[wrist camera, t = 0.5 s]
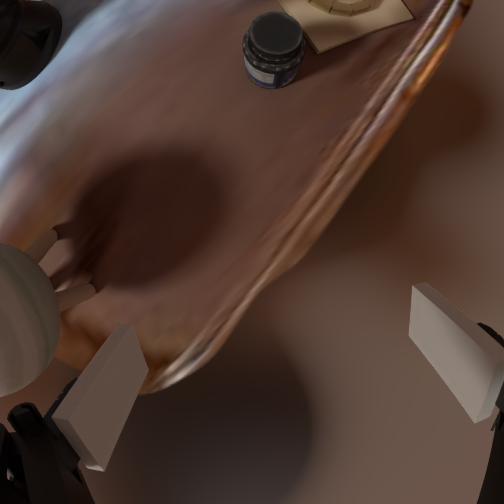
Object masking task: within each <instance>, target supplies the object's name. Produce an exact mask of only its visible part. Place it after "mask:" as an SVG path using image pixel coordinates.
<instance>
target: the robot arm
mask: <svg viewBox="0 0 504 504" xmlns="http://www.w3.org/2000/svg"><path fill="white" fill-rule="evenodd" d="M61 28H62V19H61V15H60V13H59V11H58V10H57V9H56V8H55V7H53V6H52V5H50V4H48V3H46V2H42V1H31V0H0V88H1V89H6V90H15V89H18V88H21V87H23V86H25V85H26V84H28V83H29V82H30V81H32V80H33V79H34V78H35V77H36V76H37V75H38V74H39V73H40V72H41V70H42V69H43V68H44V67H45V65H46V64H47V62H48V61H49V59H50V58H51V56H52V54H53V52H54V50H55V48H56V46H57V44H58V41H59V38H60V34H61ZM409 337H410V338H411V339H412V340H413V341H414V343H415V344H416V345H417V346H418V348H419V349H420V350H421V352H422V353H423V354H424V356H425V357H426V358H427V359H428V361H429V362H430V363H431V365H433V367H434V368H435V370H436V371H437V372H438V374H439V375H440V376H441V377H442V379H443V380H444V381H445V383H446V384H447V386H448V387H449V388H450V390H451V391H452V392H453V394H454V395H455V397H456V398H457V399H458V401H459V402H460V403H461V405H462V406H463V407H464V409H465V410H466V412H467V413H468V415H469V416H470V417H471V419H472V420H473V422H474V423H477V422H479V421H481V420H483V419H485V418H487V417H489V416H490V415H491V413H492V411H493V408H494V406H495V404H496V406H497V407H498V408H499V409H500V411H499V413H498V415H497V418H496V420H495V422H494V424H493V426H492V428H491V431H493V430H494V428H495V433H494V438H493V444H492V448H491V453H490V458H489V462H488V466H487V470H486V474H485V478H484V481H483V485H482V488H481V492H480V495H479V498H478V501H477V504H504V340H503V338H502V337H501V336H500V335H498V334H497V332H495V331H494V330H493V329H492V328H491V327H489V326H487V325H484V324H482V323H477V324H476V323H475V322H474V321H473V320H471V319H470V318H469V317H468V316H467V315H466V314H464V313H463V312H462V311H461V310H460V309H458V308H457V307H456V306H455V305H453V304H452V303H451V302H450V301H449V300H447V299H446V298H445V297H444V296H442V295H441V294H440V293H438V292H437V291H436V290H435V289H434V288H432V287H431V286H430V285H428V284H427V283H426V282H425V283H421V284H416V285H413V286H412V302H411V315H410V327H409ZM148 371H149V370H148V367H147V364H146V362H145V359H144V356H143V354H142V351H141V348H140V345H139V342H138V339H137V337H136V334H135V331H134V328H133V325H132V323H131V324H118V325H117V327H116V328H115V329H114V331H113V332H112V333H111V335H110V336H109V337H108V339H107V340H106V341H105V343H104V344H103V345H102V347H101V348H100V349H99V351H98V352H97V353H96V355H95V356H94V357H93V359H92V360H91V361H90V363H89V364H88V365H87V367H86V368H85V370H84V371H83V372H82V374H81V375H80V377H79V378H75V379H74V380H72V381H71V382H70V383H69V384H67V385H66V387H65V388H64V390H63V391H62V394H60V395H59V396H58V398H57V400H56V401H55V402H54V403H53V405H52V406H51V408H50V409H49V411H48V412H47V414H46V415H45V416H44V418H43V417H42V416H41V414H40V412H39V411H38V409H37V408H36V406H35V405H34V404H33V403H28V402H25V403H21V404H19V405H17V406H15V407H14V408H13V409H12V410H11V411H10V412H9V414H8V417H7V420H8V421H9V422H10V424H11V425H12V427H13V428H14V430H15V431H16V432H12V433H9V432H8V431H7V429H6V428H5V426H4V425H3V424H1V423H0V504H95V502H94V500H93V498H92V496H91V493H90V491H89V489H88V487H87V484H86V482H85V479H84V477H83V474H82V472H81V470H80V469H79V467H78V466H77V464H78V462H79V460H80V459H81V460H82V462H83V463H84V464H85V465H86V467H87V468H89V469H94V470H99V471H105V468H106V466H107V464H108V461H109V459H110V456H111V454H112V452H113V449H114V447H115V445H116V442H117V440H118V438H119V435H120V433H121V431H122V429H123V426H124V424H125V421H126V419H127V417H128V415H129V413H130V410H131V408H132V406H133V404H134V401H135V399H136V397H137V395H138V393H139V390H140V388H141V386H142V384H143V382H144V380H145V377H146V375H147V373H148ZM495 426H496V427H495ZM7 472H8V473H9V474H10V480H8V479H7Z"/></svg>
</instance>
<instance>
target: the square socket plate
mask: <svg viewBox="0 0 504 504" xmlns="http://www.w3.org/2000/svg"><path fill="white" fill-rule="evenodd" d="M277 1H278V2H279V4H280V5H281V6H282V7H283V9H284V10H285V11H286V12H287V14H288V15H290V16H292V17H293V18H294V19H296V20H297V21H298V22H299V24H300V26H301V28H302V31H303V35H304V36H305V38H306V39H307V40H308V42H309V43H310V45H311V46H312V47H313V49H314V50H315V52H316V53H317V54H320V53H322V52H324V51H327V50H329V49H332V48H334V47H336V46H339V45H341V44H344V43H347V42H349V41H352V40H354V39H357V38H360V37H363V36H365V35H368V34H371V33H374V32H377V31H380V30H383V29H386V28H389V27H392V26H395V25H398V24H402V23H405V22H408V21H411V20H412V19H413V16H412V15H411V13H410V12H409V11H408V9H407V8H406V7H405V5H404V4H403V2H402V1H401V0H277Z"/></svg>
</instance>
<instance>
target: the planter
mask: <svg viewBox="0 0 504 504" xmlns="http://www.w3.org/2000/svg"><path fill="white" fill-rule="evenodd" d="M56 241H57V233H56V231H55V230H53V229H49V230H48V231H46V232H45V233H44V234H43V235H42V236H41V237H40V238H39V239H38V240H36V241H35V242H34V243H33V244H32V245H31V246H30V247H29V248H28V249H27V250H26V251H25V252H23V251H22V250H20V249H18V248H16V247H14V246H12V245H9V244H5V243H0V397H2V396H5V395H8V394H11V393H14V392H16V391H18V390H20V389H22V388H23V387H25V386H26V385H28V384H29V383H30V382H32V381H33V380H35V379H36V377H38V376H39V375H40V374H41V373H42V372H43V371H44V369H45V368H46V367H47V365H48V364H49V363H50V361H51V359H52V358H53V356H54V354H55V351H56V349H57V345H58V342H59V337H60V312H61V311H63V310H65V309H68V308H70V307H72V306H74V305H76V304H79V303H81V302H83V301H86V300H88V299H90V298H92V297H93V296H94V295H95V293H96V290H95V287H94V286H93V285H92V284H89V283H87V284H83V285H80V286H76V287H72V288H69V289H65V290H62V291H59V292H56V293H55V291H54V288H53V286H52V283H51V281H50V279H49V278H48V276H47V275H46V273H45V272H44V270H43V269H42V268H41V267H40V266H39V265H38V263H39V262H40V261H41V260H42V258H43V257H44V256H45V255H46V253H47V252H48V251H49V249H50V248H51V247H52V246H53V245H54V243H55V242H56Z"/></svg>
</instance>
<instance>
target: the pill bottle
mask: <svg viewBox="0 0 504 504" xmlns="http://www.w3.org/2000/svg"><path fill="white" fill-rule="evenodd" d="M305 51H306V43H305V39H304V37H303V31H302V28H301V26H300V24H299V22H298V21H297V20H296V19H294V18H293V17H292V16H290V15H288V14H285V13H282V12H268V13H264V14H262V15H260V16H259V17H257V18H256V19H255V20H254V21H253V22H252V24H251V26H250V29H249V30H248V31H247V32H246V34H245V36H244V39H243V52H244V59H245V67H246V72H247V75H248V77H249V78H250V79H251V81H252V82H253V83H255V84H256V85H258V86H260V87H262V88H266V89H278V88H282V87H284V86H286V85H288V84H289V83H290V82H291V81H292V80H293V79H294V77H295V76H296V73H297V71H298V69H299V66H300V64H301V62H302V60H303V57H304V55H305Z"/></svg>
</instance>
